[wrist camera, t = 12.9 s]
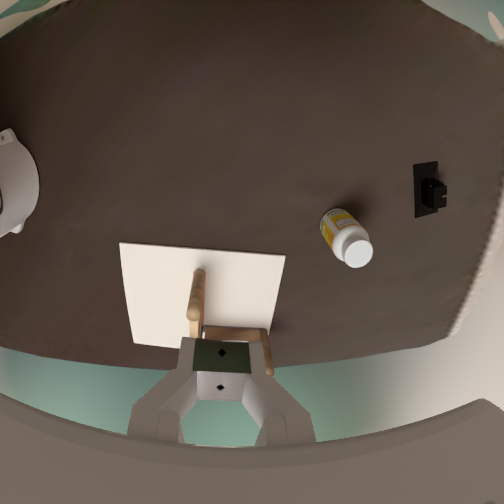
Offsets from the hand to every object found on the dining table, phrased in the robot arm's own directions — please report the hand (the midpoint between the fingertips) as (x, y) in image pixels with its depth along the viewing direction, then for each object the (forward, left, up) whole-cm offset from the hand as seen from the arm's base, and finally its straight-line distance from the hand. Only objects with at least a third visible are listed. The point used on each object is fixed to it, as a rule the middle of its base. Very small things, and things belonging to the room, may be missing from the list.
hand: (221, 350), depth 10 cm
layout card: (-3, -23, -31) cm, 39 cm away
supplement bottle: (+17, -6, -31) cm, 36 cm away
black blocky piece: (+33, +2, -32) cm, 46 cm away
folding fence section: (-3, -21, -30) cm, 37 cm away
